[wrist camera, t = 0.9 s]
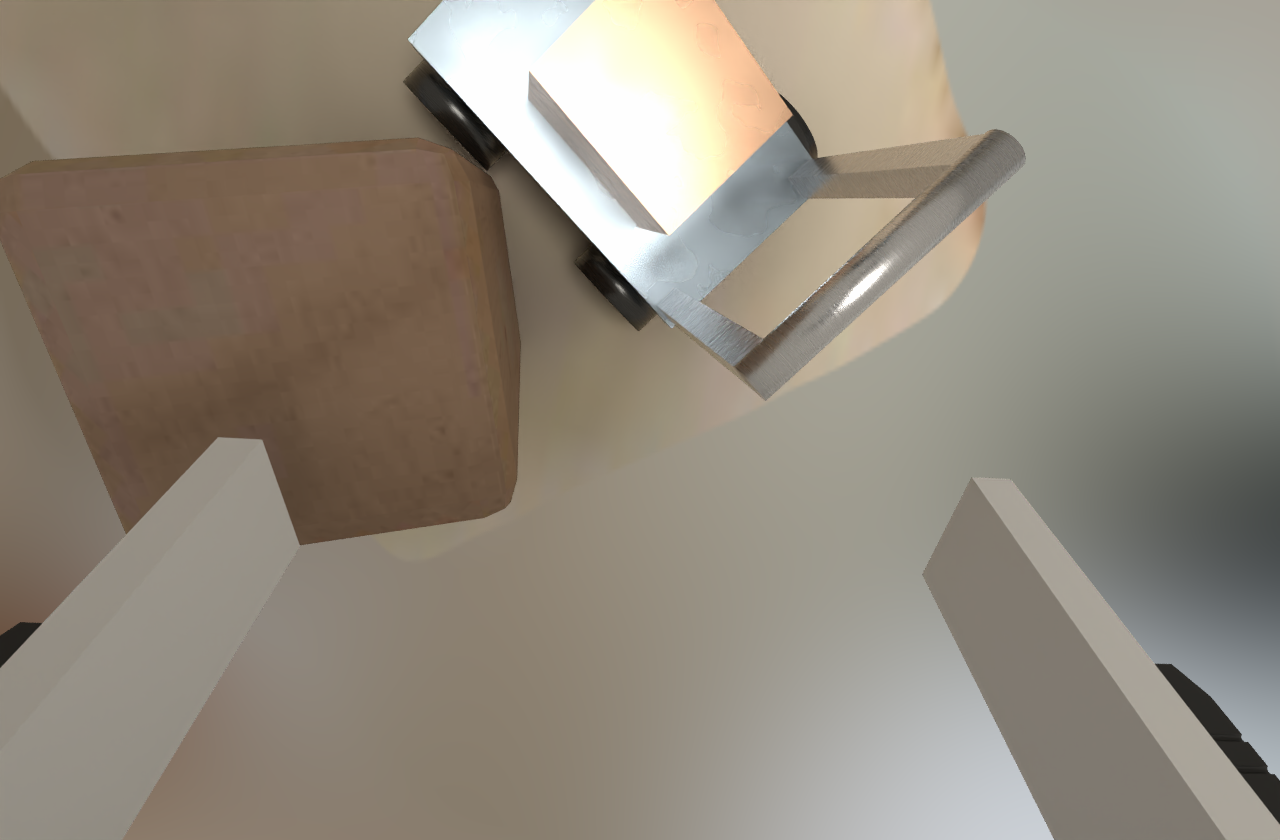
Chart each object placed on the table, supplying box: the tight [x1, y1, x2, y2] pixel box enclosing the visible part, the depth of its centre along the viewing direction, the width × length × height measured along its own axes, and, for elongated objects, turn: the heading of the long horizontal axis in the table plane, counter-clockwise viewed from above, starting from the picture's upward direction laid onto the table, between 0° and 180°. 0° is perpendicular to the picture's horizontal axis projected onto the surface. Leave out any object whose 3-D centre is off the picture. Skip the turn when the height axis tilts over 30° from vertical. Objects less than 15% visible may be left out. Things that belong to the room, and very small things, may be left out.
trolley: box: [403, 0, 1026, 401], centre depth 23 cm, size 16×13×19 cm
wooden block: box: [0, 138, 521, 545], centre depth 24 cm, size 10×10×20 cm
